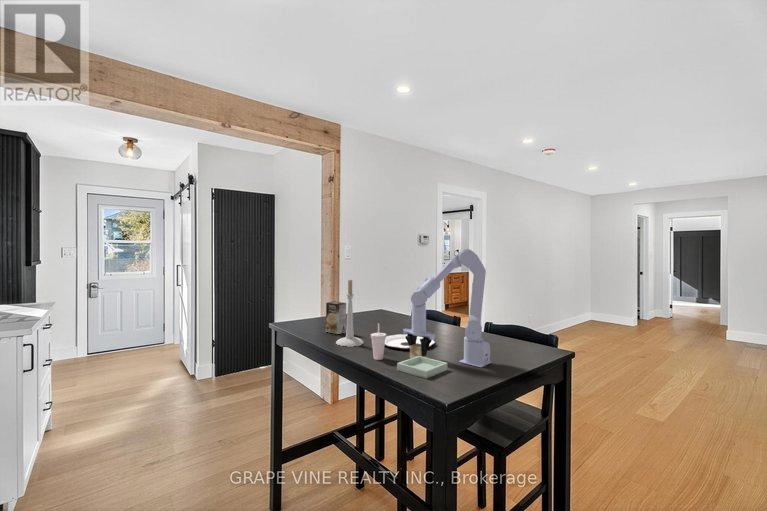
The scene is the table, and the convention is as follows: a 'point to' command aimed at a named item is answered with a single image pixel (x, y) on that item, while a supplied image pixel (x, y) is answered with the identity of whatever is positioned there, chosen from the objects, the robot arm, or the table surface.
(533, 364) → the table surface
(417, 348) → the maple cube
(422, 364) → the green tray
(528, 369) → the table surface
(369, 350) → the table surface
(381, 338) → the smoothie
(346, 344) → the candlestick
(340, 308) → the coffee box
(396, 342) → the plate
